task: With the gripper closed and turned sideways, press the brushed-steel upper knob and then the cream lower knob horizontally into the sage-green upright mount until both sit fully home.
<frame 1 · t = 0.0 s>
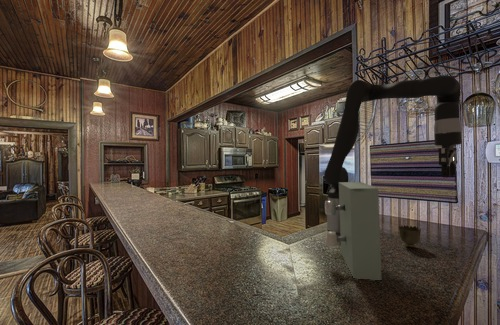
hand: (448, 176, 85), 29 cm above the worktop, tool pointing down, fingers open, 8 cm apart
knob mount: (358, 265, 81), on the worktop
cup: (410, 247, 95), on the worktop
lower knob: (337, 238, 82), point 9 cm above the worktop, slide at 0.0 cm
upper knob: (336, 207, 82), point 20 cm above the worktop, slide at 0.0 cm
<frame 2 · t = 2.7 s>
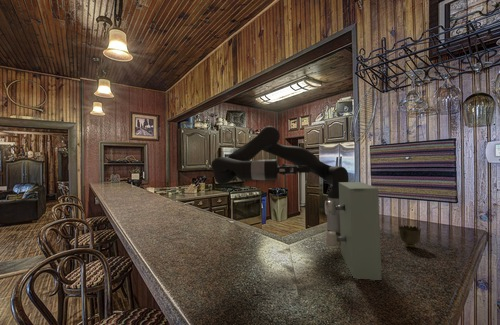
hand: (309, 168, 83), 34 cm above the worktop, tool horizontal, fingers open, 8 cm apart
nothing on the worktop moved.
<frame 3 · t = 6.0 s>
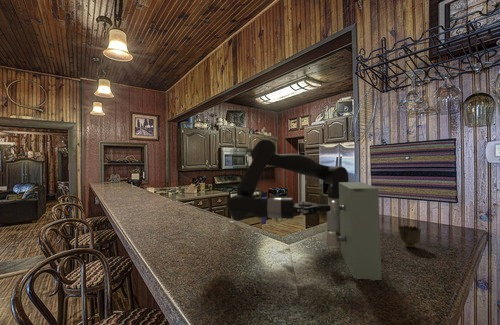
hand: (329, 208, 82), 20 cm above the worktop, tool horizontal, fingers closed
upper knob: (340, 207, 82), point 20 cm above the worktop, slide at 1.4 cm, touching gripper
everything else where it was.
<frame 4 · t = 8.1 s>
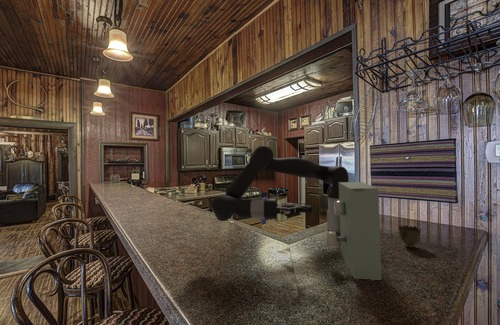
hand: (311, 209, 83), 20 cm above the worktop, tool horizontal, fingers closed
upper knob: (345, 207, 81), point 20 cm above the worktop, slide at 3.1 cm
everything else where it was.
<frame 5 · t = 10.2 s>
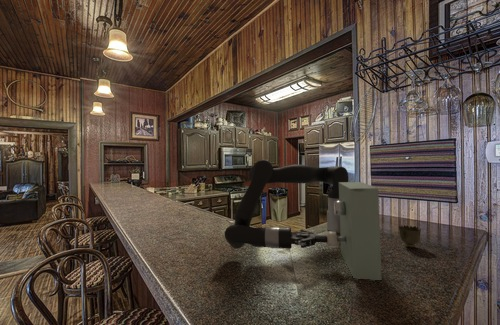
hand: (327, 238, 83), 9 cm above the worktop, tool horizontal, fingers closed
lower knob: (337, 239, 82), point 9 cm above the worktop, slide at 0.1 cm, touching gripper
everything else where it was.
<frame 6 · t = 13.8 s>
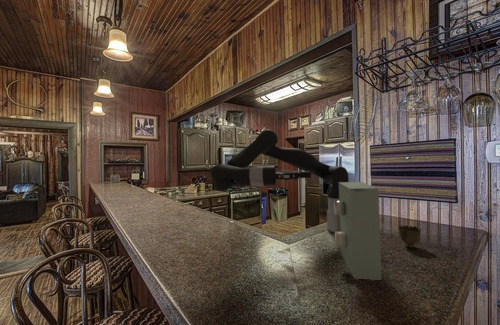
hand: (310, 174, 83), 32 cm above the worktop, tool horizontal, fingers closed
lower knob: (346, 239, 81), point 9 cm above the worktop, slide at 3.1 cm
everything else where it was.
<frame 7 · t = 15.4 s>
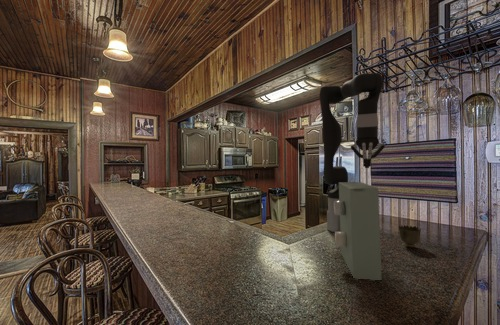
hand: (366, 167, 96), 33 cm above the worktop, tool pointing down, fingers closed
nothing on the worktop moved.
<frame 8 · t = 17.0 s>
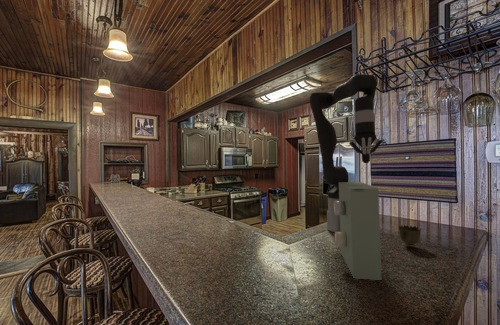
hand: (366, 163, 98), 35 cm above the worktop, tool pointing down, fingers closed
nothing on the worktop moved.
at the end: upper knob slide at 3.1 cm; lower knob slide at 3.1 cm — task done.
